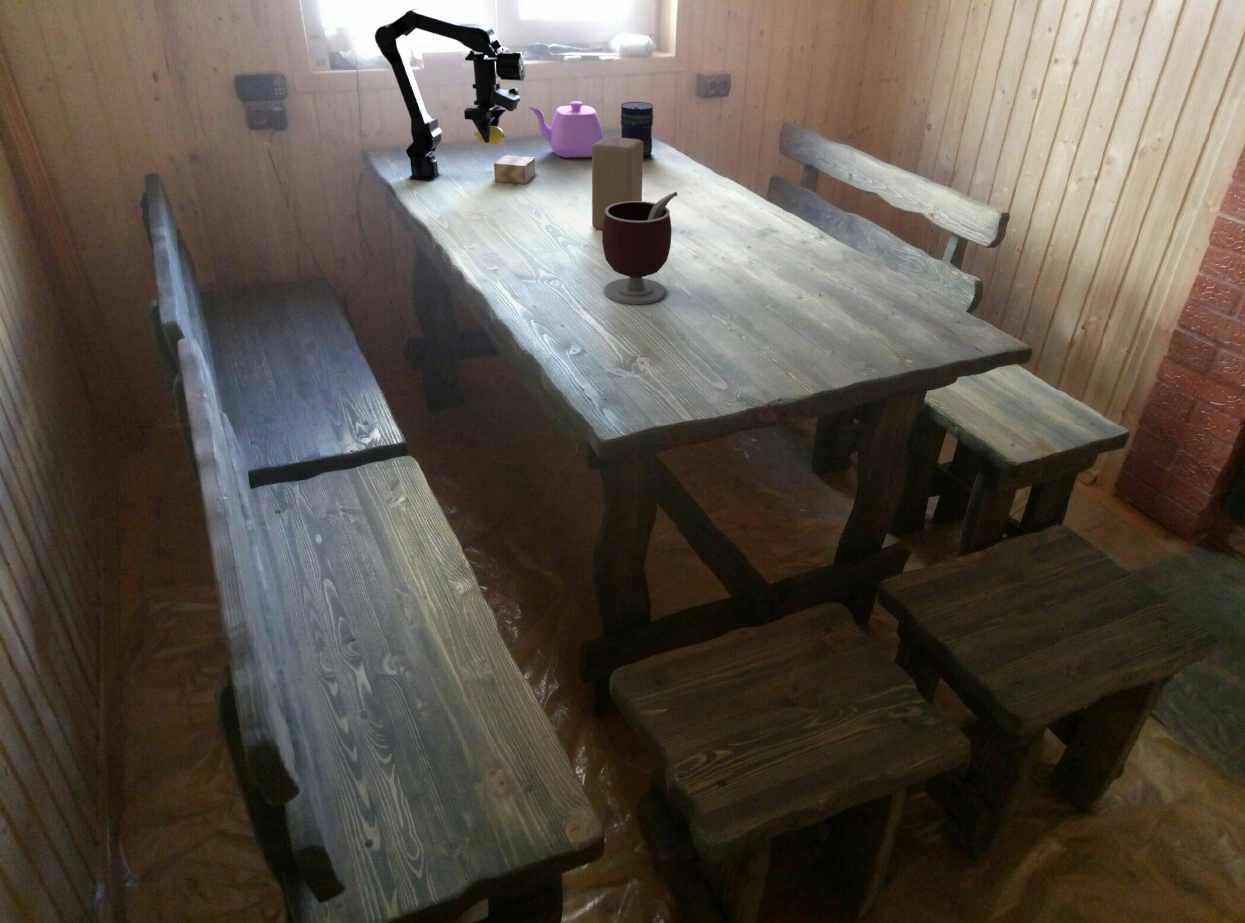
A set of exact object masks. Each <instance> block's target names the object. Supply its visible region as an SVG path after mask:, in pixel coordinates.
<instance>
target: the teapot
mask: <svg viewBox="0 0 1245 923" xmlns="http://www.w3.org/2000/svg"><path fill="white" fill-rule="evenodd" d="M527 108H528V109H530V110H531V111H532V112H533V113H534V114H535V116H536V118H537V123H538V128H539V131H540V134H541V135H542V137H543V138H544V139H545V140H546V141H549V142H548V143H549V145H550V147H551V149H552V151H553V152H554V154H556V155H557V156H559V157H561V158H563V159H571V158H584V157H585V158H592V147H593V145H594V144H596V143H597V142H599V141H600V140H602V139H603V138H604V132H603V127H602V124H601V120H600V118H599V116H598V113H597V111H596V110H595V108H593V107H592V106H590V105H583V102H582V101H579V100H573V101H570V102H569V105H560V106H558V107H557V108H556V111H555V112H554V115H553V119H552V122H551V125H550V126H549V125H548V124H547V123H546V121H545V116H544V113H543V111H542V110H541V109H540V108H538V107H533V106H528V107H527Z"/></svg>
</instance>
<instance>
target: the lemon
mask: <svg viewBox="0 0 1245 923" xmlns="http://www.w3.org/2000/svg"><path fill="white" fill-rule="evenodd" d="M473 135H474V136H475V137H476V139H477V141H478V142H479V143H480V144H483V145H490V146H497V145H500V144H502V143H503V141H504V139H505V138H506V137H507V136H506V134H505V133H504V131H503V130H502V128H500V127H499V126H498V127H497V126H490V137H489V143H485V142H484V140H483V138H482V136H481V134H480V133H479V131H478V129H477V130H476V131H475V132H474V134H473Z"/></svg>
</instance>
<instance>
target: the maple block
mask: <svg viewBox="0 0 1245 923" xmlns="http://www.w3.org/2000/svg"><path fill="white" fill-rule="evenodd" d="M493 170H494V182H496V183H497V182H499V183H508V184H509V183H510V184H519V185H520V184H521V185H526V184H528V182H529V181H531V180H532V179H533V178H534V177H535V176H536V158H535V157H534V156H533V157H532V156H521V155H510V154H509V155H507V154H504V155H503V156H501V157H500V158H499V159H497V160H496V161H495V162H493Z"/></svg>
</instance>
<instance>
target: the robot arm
mask: <svg viewBox="0 0 1245 923" xmlns="http://www.w3.org/2000/svg"><path fill="white" fill-rule="evenodd" d="M416 29H418V30H421V31H424V32H428V33H431V34H434V35H437V36H441V37H445V38H448V39H450V40H454V41H457V42H458V43H461V44H462V45H463V46H464V47H466V48H468V49H470V51H469V53H468V54H467V55H466V56H465V57H464V60H465V61H471V62H472V63H473V72H474V73H473V74H474V83H472V84H471V85H472V89H475V97H476V98H475V100H473V104H471V105H470V106H468V107H466V109H464V112H463V113H464V115H463V116H464V120H470V121H472V123H473V124H474V126H475V127H476V129H477V130H478V131H479V133H480V134H481V136H482V138H483V140H484V142H485V143H489V137H490V126H497V127H499V124H500V120H501V116H502V115H503V114H505V112H507V111H508V112H514V110H517V108H518V105H519V102H520V101H521V98H520V97H521V95H520V94H519V89H518V88H516V87H511V88H510V89H509V90H508V89H503V88H502V85H501V83H500V81H498V78H500V80H502V81H520V82H521V81H522V82H523V81H524V80H525V77H526V64H525V61H524V57H523V52H522V51H514V52H513V51H506V50H505V48H504V47H503V45H502V44H501V42H500V41H499V40H498V37H497V35H496V32H495V30H494V28H493V27H492V26H490V25H488V24H482V23H481V24H480V23H463V22H459V21H456V20H453V19H452V20H451V19H449V18H445V17H441V16H438V15H435V14H432V13H428V12H425V11H423V10H420V9H419V8H414V9H413V8H412V9H410V10H407V11H406V12H405V13H404V14H403V15H402V16H400V17H399V18H397V19H396V20H394V21H393V22H390V23H387V24H385V25H381V26H380V27H378V28H377V29H376V31H375V34H374V40H375V44H376V45H377V47H378V49H379V50H380V53H381V54H382V56H383V57H384V58H385V59H386V60H387V62H388V63H389V64H390V66H391V69H392V71H393V74H394V78H395V79H396V82H397V85H398V88H399V90H400V93H401V96H402V98H403V102H404V104H405V107H406V109H407V112H408V115H409V118H410V133H411V138H412V142H411V143H410V145H409V146H408V147H407V148H406V149H405V153H406V155H407V157H408V159H409V162H410V171H411V175H410V176H409V179H410V180H419V181H420V180H421V181H432V180H434V179H435V178H436V177H438V176H439V175H440V172H439V167H438V160H437V159H436V154H435V153H434V152H436V150H437V147H438V146H439V145H440V143H441V140H442V133H443V130H442V129H441V128H440V126H439V120H438V118H437V117H434V118H432V117H431V116H430V115H429V113H428V112H427V109H426V107H425V104H424V101H423V98H422V95H421V93H420V89H419V87H418V84H417V81H416V78H415V75H414V72H413V70H412V68H411V64H410V61H409V58H408V54H409V53H408V41H407V37H408V36H409V35H410V34H411V33H413V32H414V31H415V30H416ZM497 77H498V78H497Z"/></svg>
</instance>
